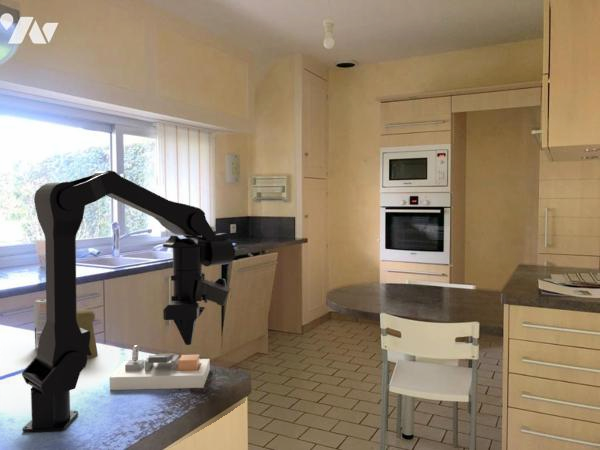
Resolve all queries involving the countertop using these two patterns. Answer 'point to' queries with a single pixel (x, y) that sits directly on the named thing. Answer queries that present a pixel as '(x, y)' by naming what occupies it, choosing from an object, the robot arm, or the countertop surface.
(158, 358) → the rocker switch
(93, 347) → the cork
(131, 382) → the switch panel
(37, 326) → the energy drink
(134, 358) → the toggle lever
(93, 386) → the countertop surface
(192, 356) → the push button
